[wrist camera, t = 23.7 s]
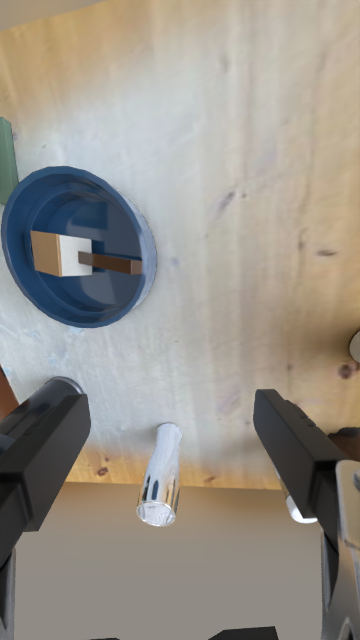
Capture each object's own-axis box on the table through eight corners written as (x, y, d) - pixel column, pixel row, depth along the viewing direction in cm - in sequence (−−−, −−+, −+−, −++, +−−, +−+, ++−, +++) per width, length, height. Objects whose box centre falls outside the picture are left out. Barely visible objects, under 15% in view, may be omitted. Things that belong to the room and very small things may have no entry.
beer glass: (190, 432, 44) (185, 516, 30) (172, 447, 46) (159, 532, 32) (167, 416, 43) (151, 495, 29) (149, 432, 45) (126, 512, 31)
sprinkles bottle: (270, 447, 43) (300, 527, 30) (259, 435, 42) (285, 512, 29) (289, 439, 42) (328, 519, 29) (278, 426, 41) (313, 503, 28)
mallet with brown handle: (144, 246, 25) (113, 241, 21) (141, 287, 27) (113, 291, 22) (66, 235, 32) (30, 230, 27) (68, 269, 33) (35, 270, 29)
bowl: (83, 332, 38) (60, 346, 32) (13, 226, 33) (-30, 219, 26) (178, 287, 33) (173, 295, 27) (115, 155, 28) (92, 126, 22)
